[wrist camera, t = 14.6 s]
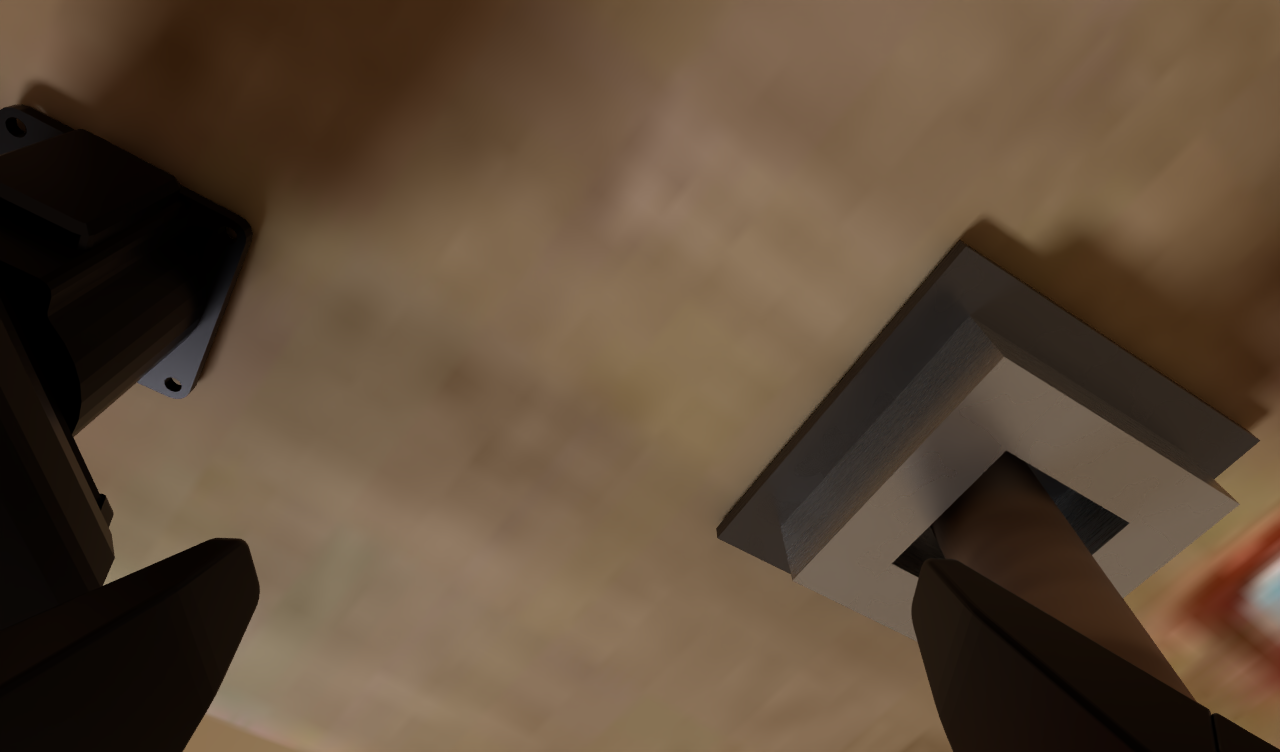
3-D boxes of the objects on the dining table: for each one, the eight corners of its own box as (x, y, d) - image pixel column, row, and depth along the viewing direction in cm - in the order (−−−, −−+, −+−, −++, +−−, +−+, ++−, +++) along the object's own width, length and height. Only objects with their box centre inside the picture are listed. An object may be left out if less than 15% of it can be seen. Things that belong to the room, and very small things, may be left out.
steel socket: (980, 659, 30) (1012, 729, 27) (716, 528, 27) (723, 592, 24) (1249, 431, 25) (1320, 490, 22) (960, 239, 22) (1002, 281, 19)
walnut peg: (957, 550, 26) (1299, 1234, 12) (898, 487, 25) (1203, 1167, 11) (1052, 493, 25) (1546, 1179, 11) (995, 425, 24) (1469, 1100, 10)
